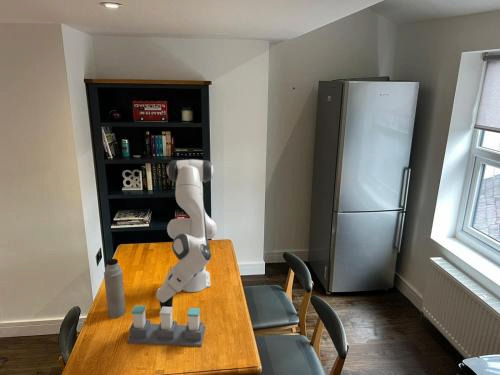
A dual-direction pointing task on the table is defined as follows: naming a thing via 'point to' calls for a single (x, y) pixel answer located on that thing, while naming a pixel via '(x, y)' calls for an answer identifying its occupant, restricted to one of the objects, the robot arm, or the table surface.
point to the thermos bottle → (114, 289)
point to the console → (166, 335)
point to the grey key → (166, 318)
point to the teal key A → (139, 316)
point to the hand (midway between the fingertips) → (157, 294)
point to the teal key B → (194, 319)
